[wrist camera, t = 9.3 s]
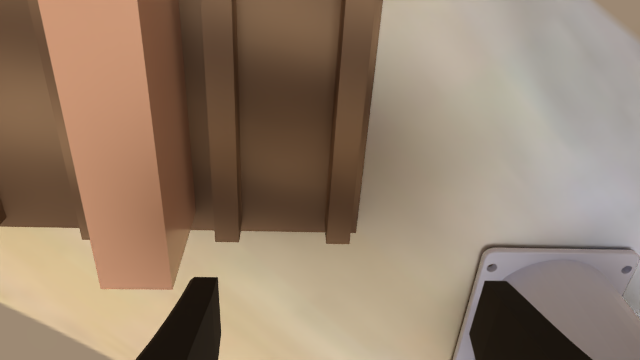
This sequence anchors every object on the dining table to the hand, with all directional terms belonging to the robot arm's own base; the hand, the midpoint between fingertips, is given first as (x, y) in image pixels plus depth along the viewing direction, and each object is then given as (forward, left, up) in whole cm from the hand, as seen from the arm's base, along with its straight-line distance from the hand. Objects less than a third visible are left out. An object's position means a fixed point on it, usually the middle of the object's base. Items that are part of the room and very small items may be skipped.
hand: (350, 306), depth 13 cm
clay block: (+4, +7, -9) cm, 12 cm away
